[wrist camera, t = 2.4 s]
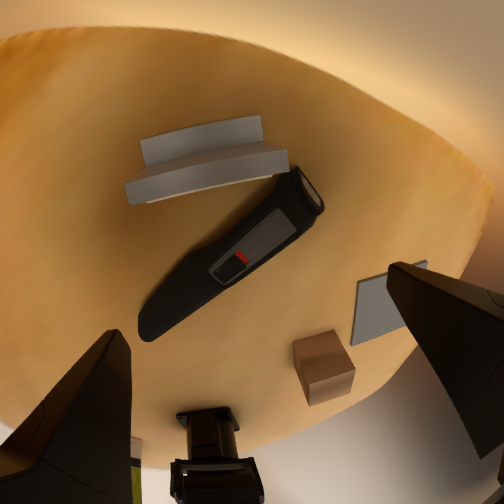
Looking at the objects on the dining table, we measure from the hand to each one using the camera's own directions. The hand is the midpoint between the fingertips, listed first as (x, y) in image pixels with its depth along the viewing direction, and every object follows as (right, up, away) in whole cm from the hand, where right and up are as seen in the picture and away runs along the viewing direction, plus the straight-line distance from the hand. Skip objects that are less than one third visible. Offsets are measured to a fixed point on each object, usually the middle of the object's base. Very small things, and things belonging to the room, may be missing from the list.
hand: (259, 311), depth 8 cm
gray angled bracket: (-3, +7, +7) cm, 10 cm away
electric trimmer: (-2, +2, +11) cm, 11 cm away
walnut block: (+6, -8, +16) cm, 19 cm away
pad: (+13, -3, +16) cm, 21 cm away
